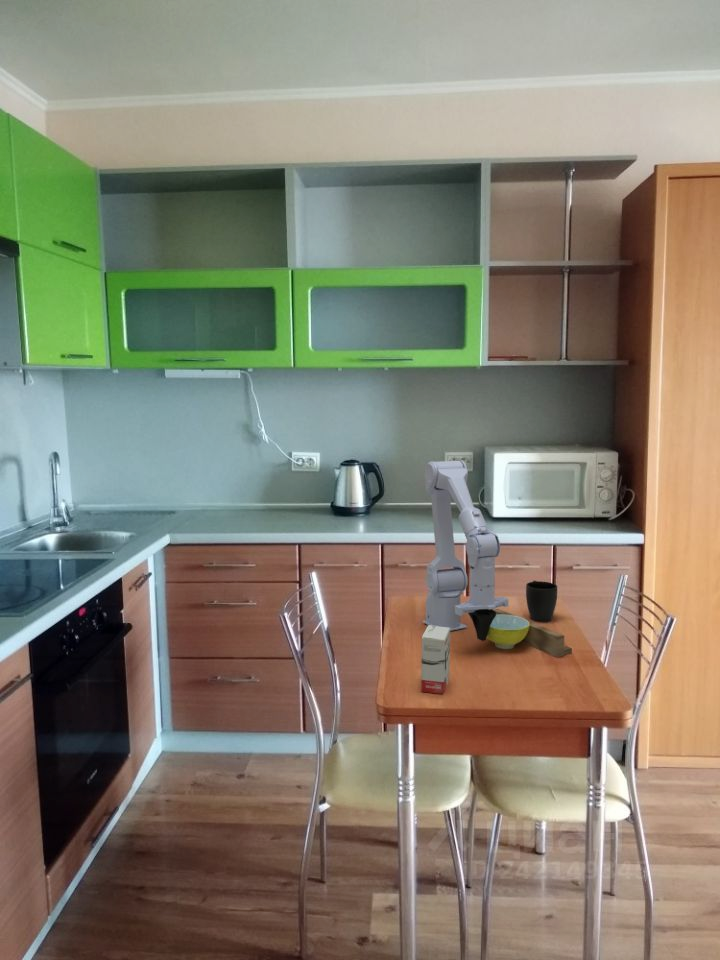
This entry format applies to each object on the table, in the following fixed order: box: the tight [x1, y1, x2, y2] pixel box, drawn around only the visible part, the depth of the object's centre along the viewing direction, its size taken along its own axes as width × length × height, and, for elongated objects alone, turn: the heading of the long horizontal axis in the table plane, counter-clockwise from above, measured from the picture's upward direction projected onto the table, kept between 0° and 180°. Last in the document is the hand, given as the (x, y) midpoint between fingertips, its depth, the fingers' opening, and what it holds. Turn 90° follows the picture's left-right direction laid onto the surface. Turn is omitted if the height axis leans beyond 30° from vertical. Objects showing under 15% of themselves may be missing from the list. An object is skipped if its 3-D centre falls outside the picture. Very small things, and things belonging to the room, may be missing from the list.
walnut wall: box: [493, 608, 573, 659], centre depth 173 cm, size 24×5×5 cm, turn 28°
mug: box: [525, 580, 558, 623], centre depth 191 cm, size 8×12×10 cm
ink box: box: [420, 625, 451, 695], centre depth 146 cm, size 8×5×12 cm, turn 165°
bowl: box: [487, 614, 530, 650], centre depth 169 cm, size 11×12×6 cm
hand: (481, 639), depth 166 cm, fingers closed
